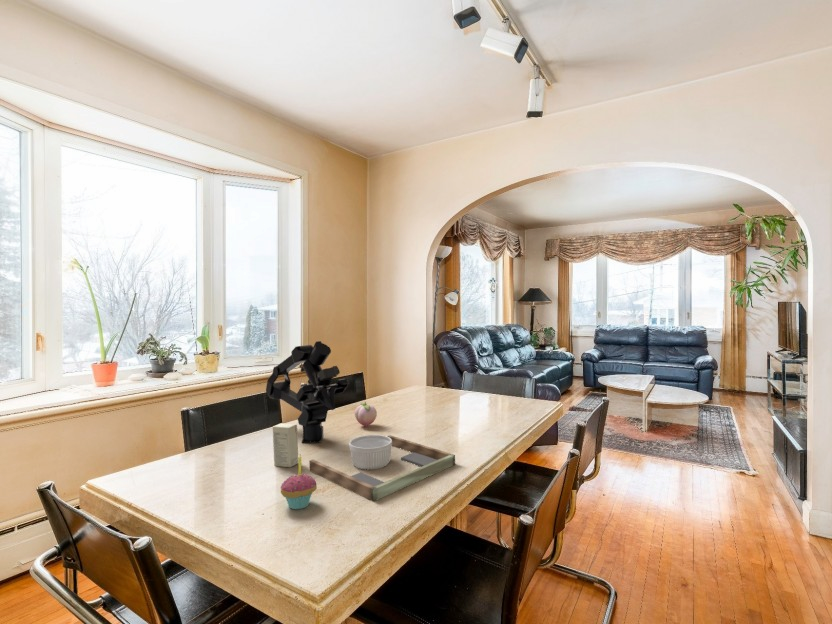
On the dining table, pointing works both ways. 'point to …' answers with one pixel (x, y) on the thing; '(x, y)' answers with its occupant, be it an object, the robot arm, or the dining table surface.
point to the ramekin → (370, 451)
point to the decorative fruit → (365, 414)
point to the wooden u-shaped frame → (390, 486)
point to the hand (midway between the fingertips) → (333, 409)
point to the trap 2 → (418, 459)
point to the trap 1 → (367, 479)
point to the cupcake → (298, 489)
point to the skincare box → (285, 445)
